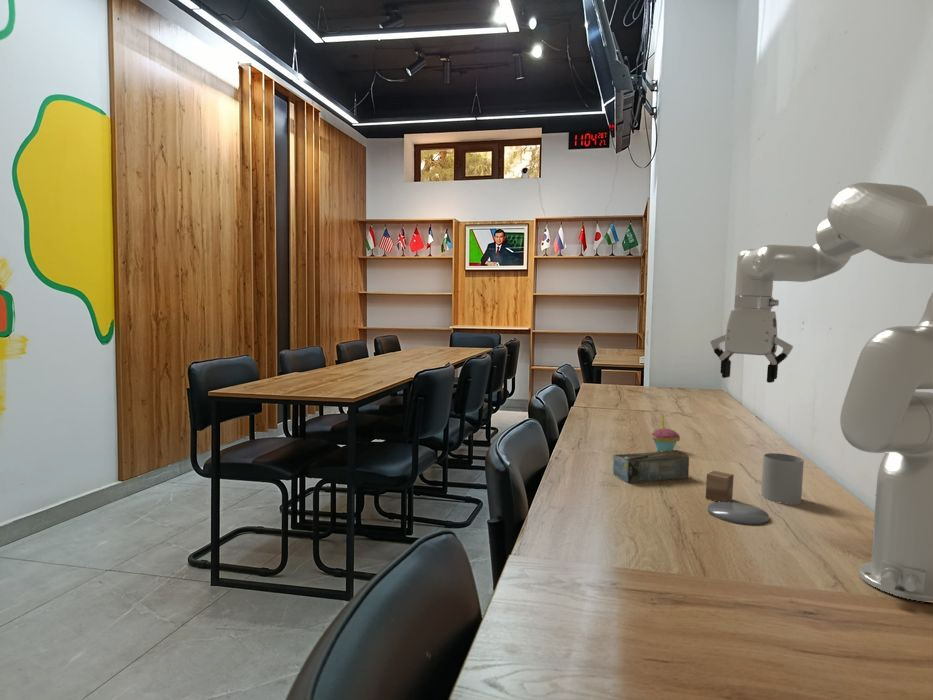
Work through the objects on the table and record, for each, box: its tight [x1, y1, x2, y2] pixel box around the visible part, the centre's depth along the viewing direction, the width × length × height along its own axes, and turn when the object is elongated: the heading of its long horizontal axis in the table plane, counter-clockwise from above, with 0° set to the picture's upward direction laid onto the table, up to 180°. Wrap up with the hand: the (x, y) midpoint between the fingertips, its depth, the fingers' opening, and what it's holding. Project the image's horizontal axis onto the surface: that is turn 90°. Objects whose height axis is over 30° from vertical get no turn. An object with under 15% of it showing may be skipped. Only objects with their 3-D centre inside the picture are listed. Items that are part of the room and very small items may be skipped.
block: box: [705, 470, 735, 502], centre depth 134 cm, size 4×4×6 cm
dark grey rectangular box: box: [612, 450, 690, 484], centre depth 151 cm, size 8×19×7 cm, turn 106°
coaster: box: [707, 501, 770, 525], centre depth 123 cm, size 12×12×1 cm
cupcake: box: [651, 412, 681, 452], centre depth 181 cm, size 9×8×12 cm
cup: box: [760, 452, 805, 505], centre depth 135 cm, size 8×8×10 cm
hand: (747, 379), depth 129 cm, fingers open, 9 cm apart
